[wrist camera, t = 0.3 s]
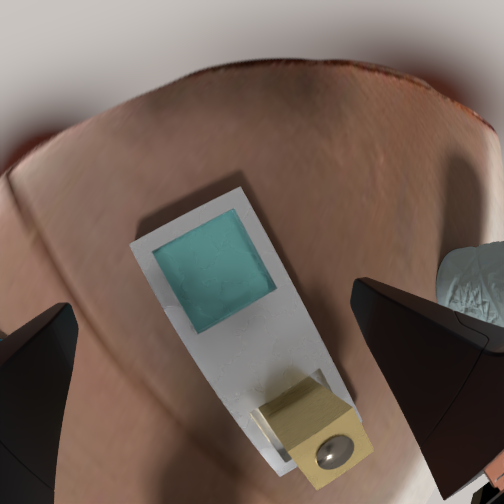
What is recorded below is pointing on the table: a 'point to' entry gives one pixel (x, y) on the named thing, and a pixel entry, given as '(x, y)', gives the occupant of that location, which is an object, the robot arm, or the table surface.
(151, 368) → the table surface
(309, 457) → the block
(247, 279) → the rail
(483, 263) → the embossed vase
